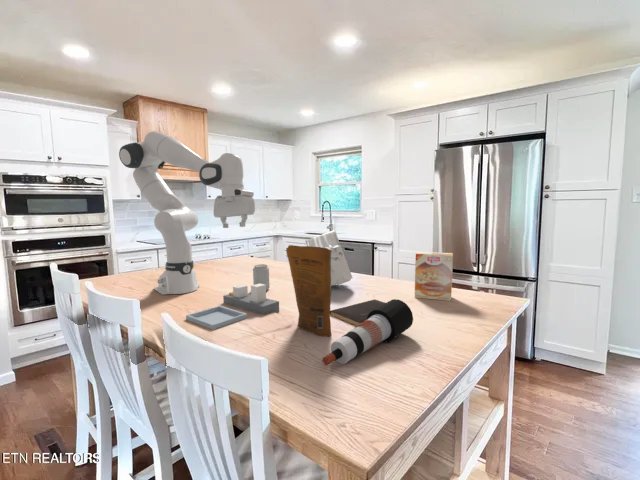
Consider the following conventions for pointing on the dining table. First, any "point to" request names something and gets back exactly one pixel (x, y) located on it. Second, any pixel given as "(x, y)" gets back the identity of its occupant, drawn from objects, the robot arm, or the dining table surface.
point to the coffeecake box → (433, 275)
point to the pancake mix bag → (312, 287)
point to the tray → (216, 317)
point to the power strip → (249, 301)
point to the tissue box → (333, 256)
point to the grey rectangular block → (258, 293)
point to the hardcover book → (356, 311)
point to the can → (261, 275)
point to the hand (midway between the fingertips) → (233, 227)
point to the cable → (372, 331)
